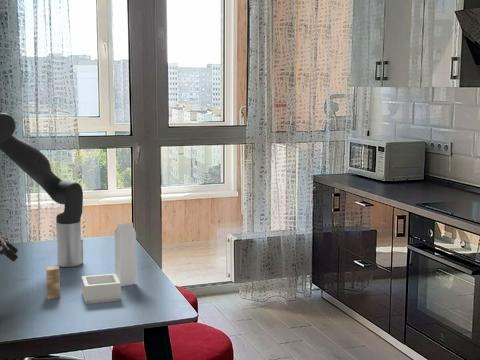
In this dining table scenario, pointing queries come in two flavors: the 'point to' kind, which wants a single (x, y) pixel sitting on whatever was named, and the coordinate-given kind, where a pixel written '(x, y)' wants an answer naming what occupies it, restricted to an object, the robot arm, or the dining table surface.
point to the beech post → (53, 282)
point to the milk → (125, 254)
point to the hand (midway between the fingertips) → (16, 255)
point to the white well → (101, 288)
